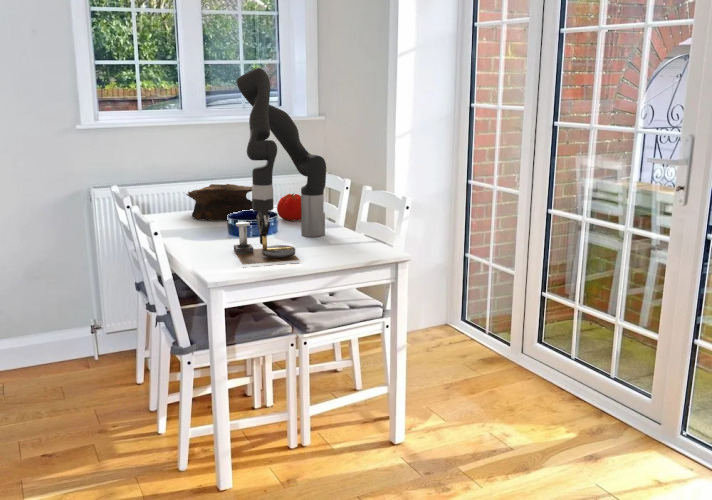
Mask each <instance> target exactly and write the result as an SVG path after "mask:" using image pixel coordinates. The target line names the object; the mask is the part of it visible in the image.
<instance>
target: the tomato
mask: <svg viewBox="0 0 712 500" xmlns="http://www.w3.org/2000/svg"><path fill="white" fill-rule="evenodd" d="M276 211H277V215H278V216H279V218H280V219H282V220H284V219H285V220H284V221H289V220H290V222H292V221H293V220H294V221H296V220H299V221H301V194H298V193H294V192H293V193H292V194H291V193H287V194H286V195H284V196H282V197H280V199H279V200H278V202H277V205H276Z"/></svg>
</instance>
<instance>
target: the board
mask: <svg viewBox="0 0 712 500" xmlns="http://www.w3.org/2000/svg"><path fill="white" fill-rule="evenodd" d="M233 252H234V254H235V255H236V257H237V258H238V259H239V261H240V263H241V264H242V265H251V264H252V265H253V264H268V263H278V262H279V263H280V264H278V266H283V265H284V266H285V263H284V264H282V263H281V262H293V261H295V262H296V261H300V258H299V257H297V255H296V254H295V255H293V256H289V257H281V258H275V257H267V256H264V255H262V248H254V246H253V245H252V244H251V243H247V248H240V244H233ZM295 262H294V263H291V265H294V264H295V265H296V264H297V265H298V262H296V263H295ZM268 266H269V267H270V266H272V264H269V265H265V267H268ZM244 267H245V266H243V267H242V268H244ZM256 267H259V265H258V266H257V265H253V266H252V268H256Z"/></svg>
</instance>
